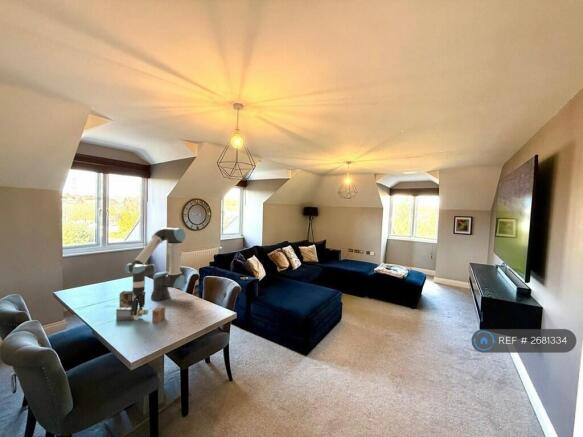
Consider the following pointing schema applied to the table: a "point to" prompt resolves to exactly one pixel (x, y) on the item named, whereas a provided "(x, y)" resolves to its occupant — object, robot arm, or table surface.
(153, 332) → the table surface
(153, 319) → the tan box
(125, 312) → the sleeve
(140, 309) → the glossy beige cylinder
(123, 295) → the coffee box
